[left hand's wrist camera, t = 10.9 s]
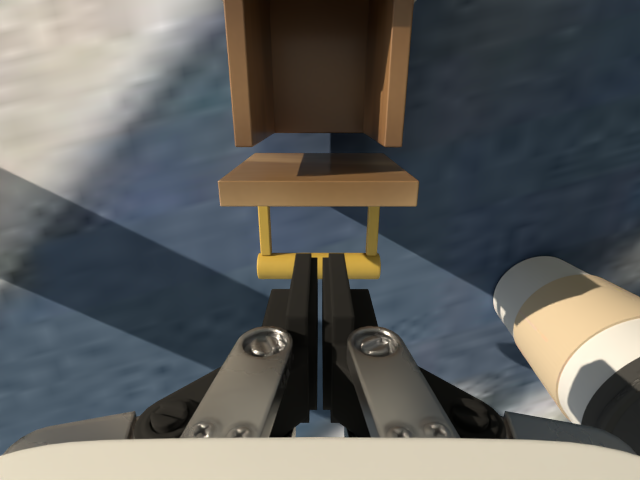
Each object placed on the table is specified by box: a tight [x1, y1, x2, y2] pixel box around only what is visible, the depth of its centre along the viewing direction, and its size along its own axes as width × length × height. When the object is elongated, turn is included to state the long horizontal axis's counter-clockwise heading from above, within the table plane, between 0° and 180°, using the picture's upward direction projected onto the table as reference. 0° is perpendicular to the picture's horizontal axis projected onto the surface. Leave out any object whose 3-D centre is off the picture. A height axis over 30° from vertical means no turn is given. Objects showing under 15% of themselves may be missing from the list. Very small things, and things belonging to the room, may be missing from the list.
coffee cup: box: [493, 256, 640, 456], centre depth 23 cm, size 9×9×15 cm
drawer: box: [218, 0, 419, 279], centre depth 19 cm, size 22×9×10 cm, turn 0°
